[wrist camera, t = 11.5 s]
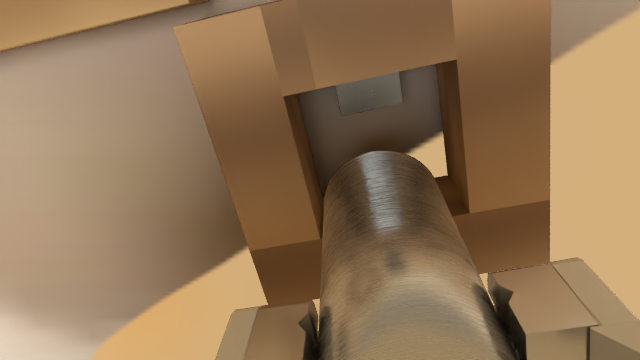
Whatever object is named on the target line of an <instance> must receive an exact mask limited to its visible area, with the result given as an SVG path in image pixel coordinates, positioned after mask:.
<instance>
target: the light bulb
mask: <svg viewBox="0 0 640 360" xmlns="http://www.w3.org/2000/svg"><path fill="white" fill-rule="evenodd" d="M318 360H518V358H517V356H516V354H515V352H514V350H513V347H512V345H511V343H510V341H509V339H508V337H507V334H506V332H505V330H504V328H503V326H502V324H501V321H500V319H499V317H498V315H497V313H496V311H495V308H494V306H493V304H492V302H491V300H490V298H489V296H488V293H487V291H486V289H485V287H484V285H483V283H482V280H481V278H480V276H479V274H478V272H477V269H476V267H475V265H474V263H473V261H472V259H471V256H470V254H469V252H468V250H467V248H466V246H465V243H464V241H463V239H462V237H461V235H460V233H459V230H458V228H457V226H456V224H455V222H454V220H453V217H452V215H451V213H450V211H449V209H448V207H447V204H446V202H445V200H444V198H443V196H442V194H441V191H440V189H439V187H438V185H437V183H436V181H435V179H434V177H433V175H432V173H431V172H430V171H429V170H428V169H427V167H425V166H424V165H423V164H422V163H421V162H420V161H418V160H416V159H415V158H413V157H411V156H409V155H407V154H404V153H400V152H395V151H373V152H368V153H365V154H362V155H359V156H357V157H355V158H353V159H351V160H349V161H348V162H346V163H345V164H344V165H342V166H341V167H340V168H339V169H338V170H337V171H336V173H335V174H334V175H333V176H332V178H331V180H330V181H329V183H328V186H327V188H326V192H325V197H324V216H323V240H322V264H321V289H320V315H319V338H318Z"/></svg>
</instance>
